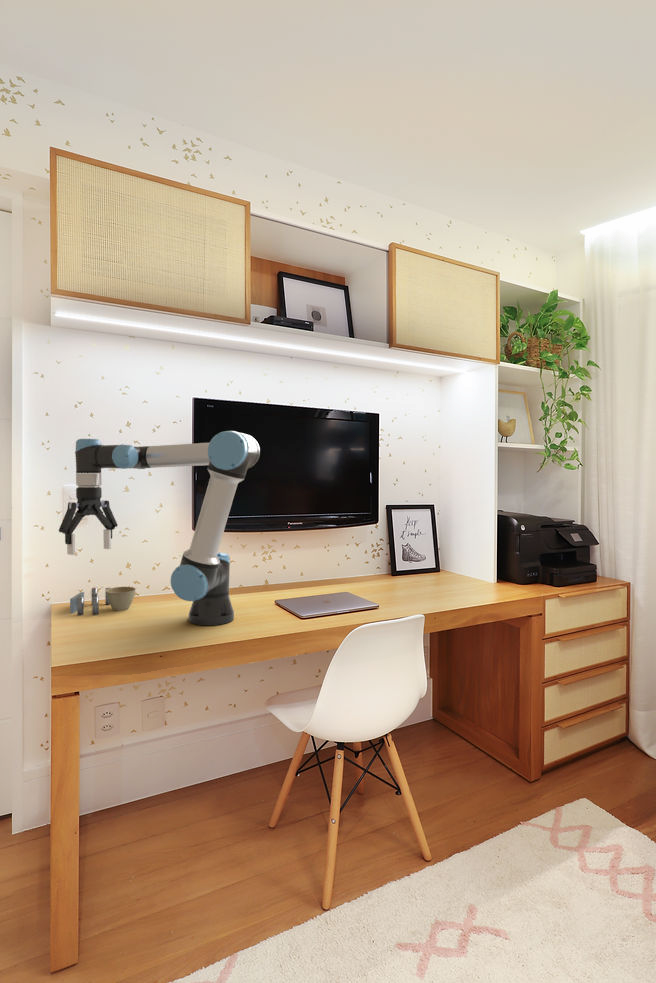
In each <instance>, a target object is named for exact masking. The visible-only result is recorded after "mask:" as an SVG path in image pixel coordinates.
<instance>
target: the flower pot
mask: <svg viewBox="0 0 656 983" xmlns="http://www.w3.org/2000/svg"><path fill="white" fill-rule="evenodd" d="M109 588H110V589H107V590H106V595H107V599H108V601H109V603H110V605H109V606H110V607H111V609H113V611H117V612H119V611H121V612H122V611H127V610H129V609H130V606H131V605H132V602H134V599H135V594H136V587H133V586H115V587H109Z"/></svg>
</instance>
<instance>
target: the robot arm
mask: <svg viewBox="0 0 656 983" xmlns="http://www.w3.org/2000/svg"><path fill="white" fill-rule="evenodd" d="M74 454H75V470H76V471H75V481H76V483H75V485H76V489H75V495H76V497H75V498H76V500H77V502H73V501H71V502H69V501H68V503H67V509H66V512H65V515H64V516H63V519H62V521H61V524H60V526H59V528H58V533H62V534H63V535H64V543H65V545H67V546H66V550H67V553H66V554H67V555H70V556H75V555H76V533H73V532H74V531H75V530H76V528H77V527H78V525H79V524H80V522H81V521H82V520H83V518H84V517H86V516H95V517H96V518H97V520H98V521H99V522H100V523H101V525H102V526H103V527H104V529H103V532H102V533H103V549H105V550H111V549H112V539H113V530H115V529H116V528H117V527H118V523H117V522H118V521H117V520H116V519H115V515H114V514H113V511H112V509H111V506H110V501H109V500H101V498H103V497H102V495H103V494H102V489H103V488H102V487H101V486H102V469H121V470H122V469H123V470H124V469H125V470H127V469H135V470H136V469H137V470H145V469H155V468H174V467H175V468H177V467H195V466H196V467H197V466H207V471H208V473H209V475H210V478H209V479H208V480H209V481H208V485H207V488H206V491H205V495H204V498H203V501H202V505H201V508H200V512H199V515H198V519H197V522H196V525H195V530H194V533H193V536H192V540H191V543H190V546H189V548H188V549H187V550H185V551H183V553H182V557H181V560H180V563H179V565H178V566H177V567H176V568H175V569H174V570H173V571H172V574H171V576H170V586H171V589H172V590H173V593H174V594H175V595H176V597H178V598H179V599H181V600H183V601H186V602H192V603H191V606H190V609H189V612H188V622H189V623H191V624H192V625H198V626H219V625H224V624H228V623H231V622H232V621H234V619H235V611H234V608H233V605H232V602H231V598H230V566H231V562H230V555H229V553H226V552H219V549H220V545H221V542H222V539H223V536H224V532H225V528H226V525H227V521H228V518H229V514H230V512H231V508H232V505H233V500H234V497H235V494H236V490H237V488H238V484H239V483H241V482H242V481H244V480H245V478H246V475H247V472H248V469H250V468H252V467H254V466H255V464H256V463H257V462H258V461H259V458H260V455H261V447H260V445H259V443H258V441H257V440H256V439H255V438H254V437H253V436H252V435H250V434H247V433H244V432H238V431H236V430H225V431H221V432H219V433H217V434H215V435H214V436H213V437H212V438H211V440H210V441H209V442H198V443H184V444H183V443H180V444H169V445H168V444H167V445H164V444H163V445H149V446H148V445H147V446H146V445H144V446H134V445H132V444H109V445H107V444H106V445H105V444H102V442H101V440H100V439H99V438H98V439H97V438H78V439H77V440H75V451H74Z"/></svg>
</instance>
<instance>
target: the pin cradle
mask: <svg viewBox="0 0 656 983" xmlns="http://www.w3.org/2000/svg"><path fill="white" fill-rule="evenodd" d="M110 588H111V587H106V588H105V589H104V590H105V592H104V594H105V598H104V599H105V600H104V602H105V605H107V606H111V605H110V603H109V601H108V599H107V595H106V590H107V589H110ZM99 598H100V597H99V596H98V587H92V588H91V606H92V608H91V610H92V616H99V615H100V614H99V612H100V609H99V607H100V606H99V605H100V604H99V603H100V601H99ZM69 606H70V607H69V613H70V614H75V613H76V612H77V613H76V614H77V616H83V615H84V614H85V613H84V611H85V610H84V609H85V592H84V591H80V592H79V593H78V594H77V593H76V595H74V596H72V597H71V598H69Z"/></svg>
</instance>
